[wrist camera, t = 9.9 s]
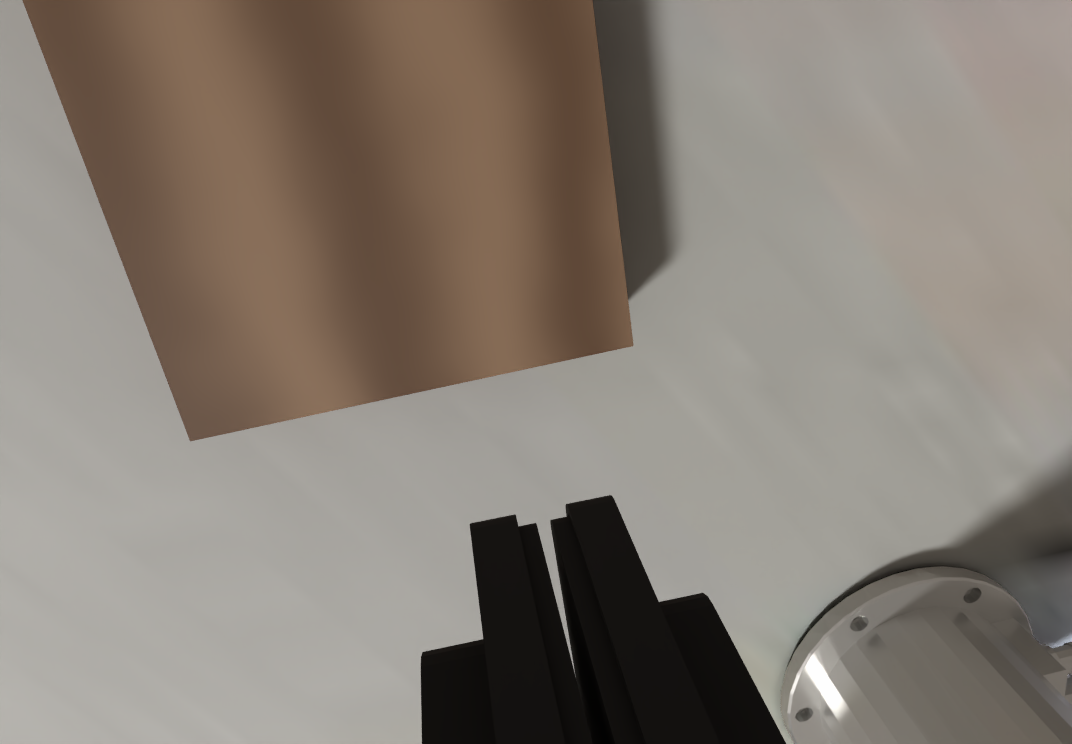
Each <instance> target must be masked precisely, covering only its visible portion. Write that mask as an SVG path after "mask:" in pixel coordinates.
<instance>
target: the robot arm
mask: <svg viewBox="0 0 1072 744" xmlns="http://www.w3.org/2000/svg"><path fill="white" fill-rule="evenodd" d="M566 515H567V517H563V518H558V519H554V520H551V530H552V536H553V542H554V548H555V554H556V560H557V566H558V572H559V578H560V584H561V590H562V596H563V602H564V608H565V614H566V621H567V627H568V633H569V639H570V645H571V651H572V657H573V663H574V669H575V673H574V669H573V665H572V661H571V657H570V653H569V650H568V646H567V642H566V638H565V634H564V630H563V626H562V622H561V618H560V614H559V610H558V606H557V603H556V599H555V595H554V591H553V587H552V583H551V579H550V575H549V571H548V567H547V563H546V559H545V556H544V552H543V548H542V544H541V540H540V536H539V532H538V528H537V525H536V523H534V524H529V525H524V526H519V527H518V523H517V519H516V515H510V516H505V517H500V518H495V519H490V520H486V521H481V522H476V523H471V524H470V531H471V539H472V547H473V556H474V564H475V572H476V581H477V589H478V597H479V606H480V614H481V622H482V631H483V640H478V641H473V642H468V643H464V644H459V645H454V646H450V647H445V648H440V649H435V650H431V651H426V652H423V653H422V656H421V706H422V744H786V743H785V741H784V739H783V737H782V735H781V733H780V731H779V729H778V727H777V725H776V724H775V722H774V720H773V718H772V716H771V714H770V712H769V710H768V708H767V706H766V705H765V703H764V701H763V699H762V697H761V695H760V693H759V691H758V689H757V687H756V686H755V684H754V682H753V680H752V678H751V676H750V674H749V672H748V670H747V668H746V667H745V665H744V663H743V661H742V659H741V657H740V655H739V653H738V651H737V649H736V648H735V646H734V644H733V642H732V640H731V638H730V636H729V634H728V632H727V630H726V629H725V627H724V625H723V623H722V621H721V619H720V617H719V615H718V613H717V611H716V610H715V608H714V606H713V604H712V602H711V601H710V599H709V598H708V596H707V595H705V594H704V593H700V594H695V595H691V596H686V597H681V598H676V599H672V600H667V601H662V602H658V599H657V597H656V595H655V592H654V590H653V588H652V586H651V583H650V581H649V579H648V576H647V574H646V572H645V569H644V567H643V565H642V562H641V560H640V558H639V556H638V553H637V551H636V549H635V546H634V544H633V542H632V539H631V537H630V535H629V533H628V530H627V528H626V526H625V523H624V521H623V519H622V516H621V514H620V512H619V509H618V507H617V505H616V503H615V500H614V498H613V497H612V496H611V495H609V496H604V497H599V498H595V499H590V500H585V501H580V502H575V503H570V504H566ZM1068 674H1069V675H1068ZM575 675H576V677H575ZM1067 676H1068V677H1067ZM781 713H782V717H783V721H784V725H785V727H786V729H787V731H788V733H789V735H790V737H791V739H792V741H793V742H794V744H1072V642H1068V643H1064V645H1063V646H1059V647H1055V648H1051V647H1049V646H1047V645H1045V644H1040V643H1039V642H1038V641H1037V640H1036V639H1035V638H1034V637H1033V631H1032V628H1031V625H1030V622H1029V619H1028V616H1027V614H1026V613H1025V611H1024V610H1023V609H1022V607H1021V606H1020V604H1019V603H1018V601H1017V600H1016V599H1015V598H1014V597H1012V596H1011V595H1010V594H1009V593H1008V592H1007V591H1006V590H1005V589H1004V588H1003V587H1002V586H1001V585H1000V584H998V583H997V582H995V581H993V580H992V579H990V578H988V577H987V576H985V575H983V574H980V573H977V572H974V571H971V570H968V569H964V568H955V567H945V566H939V567H927V568H917V569H913V570H909V571H905V572H901V573H897V574H893V575H891V576H888V577H886V578H883V579H881V580H878V581H876V582H873V583H871V584H869V585H867V586H865V587H863V588H862V589H860V590H858V591H857V592H855V593H853V594H851V595H850V596H848V597H846V598H845V599H844V600H842V601H841V602H840V603H839V604H837V605H836V606H835V607H834V608H832V609H831V610H830V611H828V612H827V613H826V614H825V615H824V616H823V617H822V618H821V619H820V620H819V621H818V622H817V623H816V624H815V625H814V626H813V628H812V629H811V630H810V631H809V632H808V633H807V635H806V636H805V638H804V639H803V640H802V642H801V643H800V645H799V646H798V648H797V649H796V650H795V652H794V654H793V656H792V659H791V661H790V663H789V665H788V667H787V669H786V672H785V676H784V680H783V684H782V688H781Z"/></svg>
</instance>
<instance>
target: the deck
mask: <svg viewBox="0 0 1072 744" xmlns="http://www.w3.org/2000/svg"><path fill="white" fill-rule="evenodd" d="M23 3H24V5H25V8H26V11H27V13H28V16H29V19H30V21H31V24H32V26H33V29H34V32H35V34H36V37H37V40H38V42H39V45H40V47H41V50H42V53H43V55H44V58H45V61H46V63H47V66H48V69H49V71H50V74H51V76H52V79H53V82H54V84H55V87H56V90H57V92H58V95H59V97H60V100H61V103H62V105H63V108H64V111H65V113H66V116H67V118H68V121H69V124H70V126H71V129H72V132H73V134H74V137H75V139H76V142H77V145H78V147H79V150H80V153H81V155H82V158H83V161H84V163H85V166H86V168H87V171H88V174H89V176H90V179H91V182H92V184H93V187H94V189H95V192H96V195H97V197H98V200H99V203H100V205H101V208H102V210H103V213H104V216H105V218H106V221H107V224H108V226H109V229H110V231H111V234H112V237H113V239H114V242H115V245H116V247H117V250H118V253H119V255H120V258H121V260H122V263H123V266H124V268H125V271H126V274H127V276H128V279H129V281H130V284H131V287H132V289H133V292H134V295H135V297H136V300H137V302H138V305H139V308H140V310H141V313H142V316H143V318H144V321H145V324H146V326H147V329H148V331H149V334H150V337H151V339H152V342H153V345H154V347H155V350H156V352H157V355H158V358H159V360H160V363H161V366H162V368H163V371H164V373H165V376H166V379H167V381H168V384H169V387H170V389H171V392H172V394H173V397H174V400H175V402H176V405H177V408H178V410H179V413H180V416H181V418H182V421H183V423H184V426H185V429H186V431H187V434H188V437H189V439H190V441H194V440H198V439H203V438H208V437H212V436H217V435H222V434H226V433H231V432H235V431H240V430H245V429H249V428H254V427H259V426H263V425H268V424H273V423H277V422H282V421H287V420H291V419H296V418H301V417H305V416H310V415H314V414H319V413H324V412H328V411H333V410H338V409H342V408H347V407H352V406H356V405H361V404H366V403H370V402H375V401H380V400H384V399H389V398H393V397H398V396H403V395H407V394H412V393H417V392H421V391H426V390H431V389H435V388H440V387H445V386H449V385H454V384H459V383H463V382H468V381H473V380H477V379H482V378H486V377H491V376H496V375H500V374H505V373H510V372H514V371H519V370H524V369H528V368H533V367H538V366H542V365H547V364H552V363H556V362H561V361H565V360H570V359H575V358H579V357H584V356H589V355H593V354H598V353H603V352H607V351H612V350H617V349H621V348H626V347H631V346H633V338H632V329H631V321H630V313H629V304H628V296H627V287H626V279H625V270H624V262H623V253H622V245H621V237H620V228H619V220H618V211H617V203H616V194H615V186H614V177H613V169H612V160H611V152H610V144H609V135H608V127H607V118H606V110H605V101H604V93H603V84H602V76H601V68H600V59H599V51H598V42H597V34H596V25H595V17H594V8H593V0H23Z"/></svg>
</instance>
